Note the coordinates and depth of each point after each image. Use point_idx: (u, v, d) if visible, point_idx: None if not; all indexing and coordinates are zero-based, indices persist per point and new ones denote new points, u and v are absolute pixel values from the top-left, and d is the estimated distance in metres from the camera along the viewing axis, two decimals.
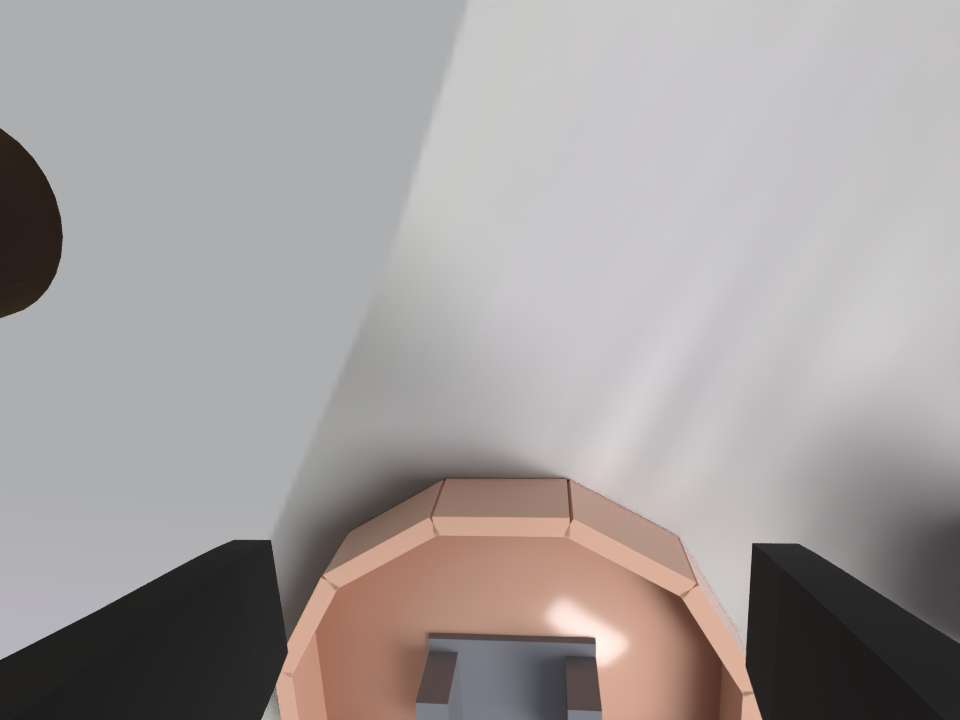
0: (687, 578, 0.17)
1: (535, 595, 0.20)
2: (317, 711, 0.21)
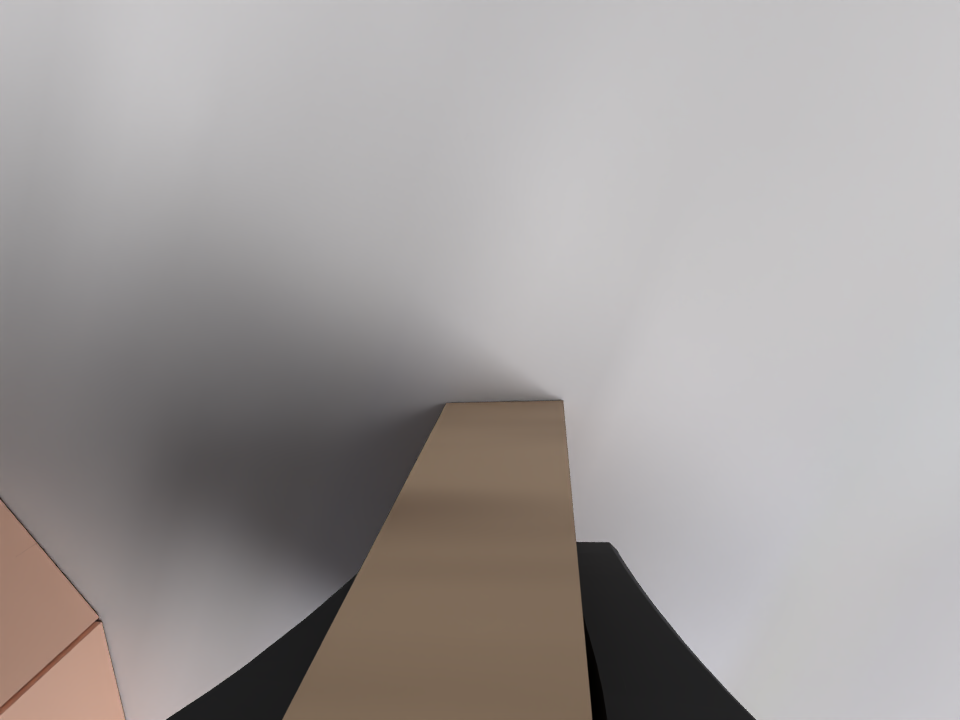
0: None
1: None
2: None
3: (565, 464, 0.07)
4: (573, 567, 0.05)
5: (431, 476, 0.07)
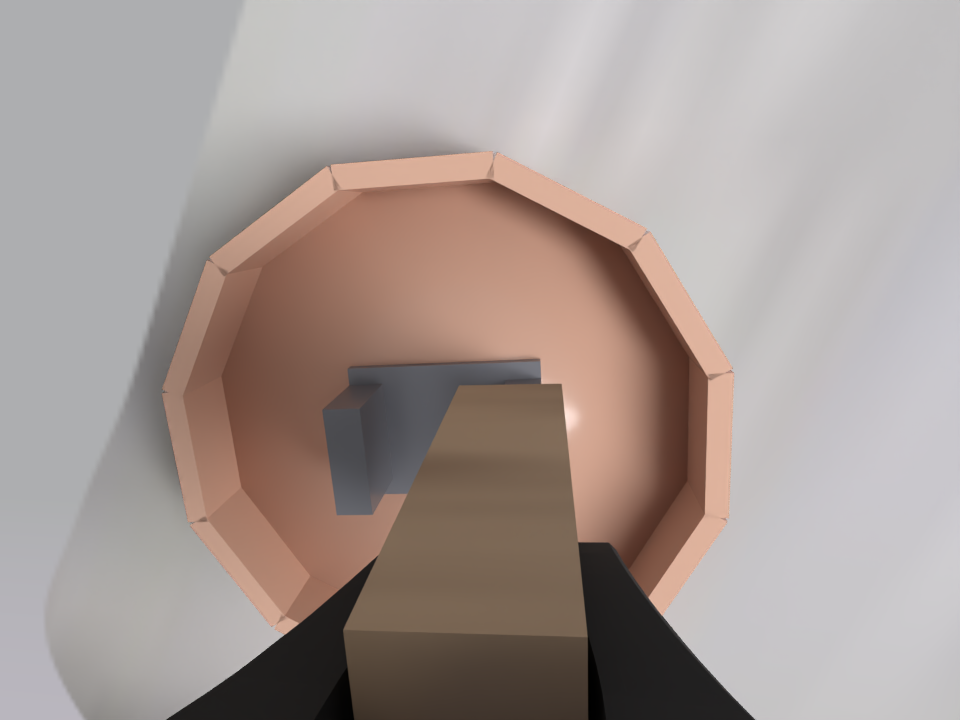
0: (636, 224, 0.14)
1: (469, 307, 0.17)
2: (225, 467, 0.18)
3: (563, 433, 0.09)
4: (570, 506, 0.07)
5: (451, 442, 0.09)
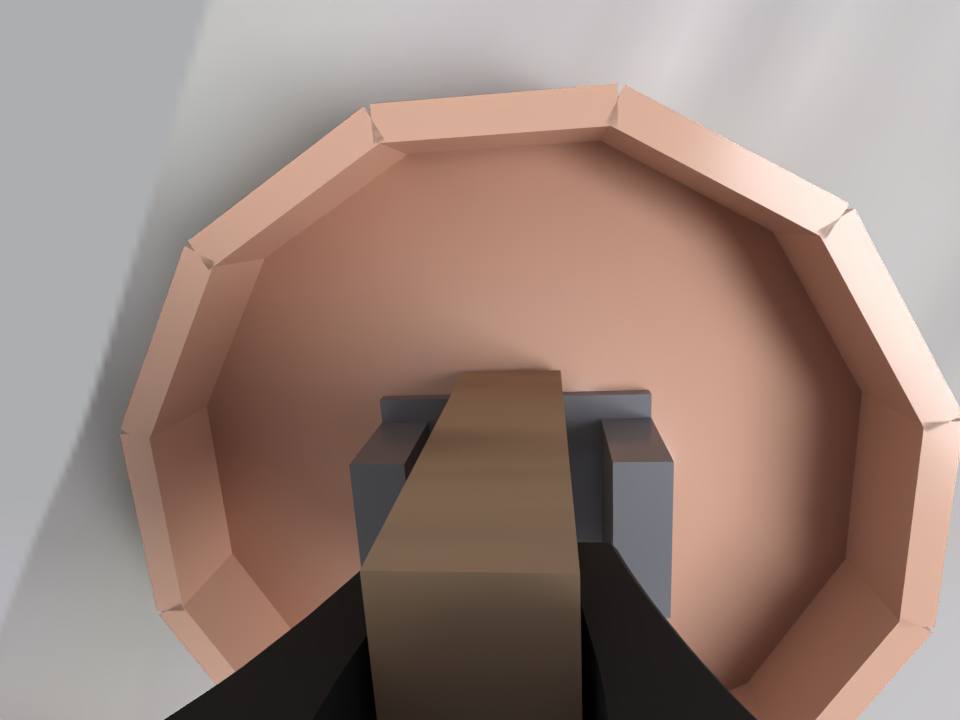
0: (833, 197, 0.09)
1: (551, 318, 0.12)
2: (210, 530, 0.13)
3: (561, 412, 0.09)
4: (566, 471, 0.07)
5: (455, 421, 0.09)
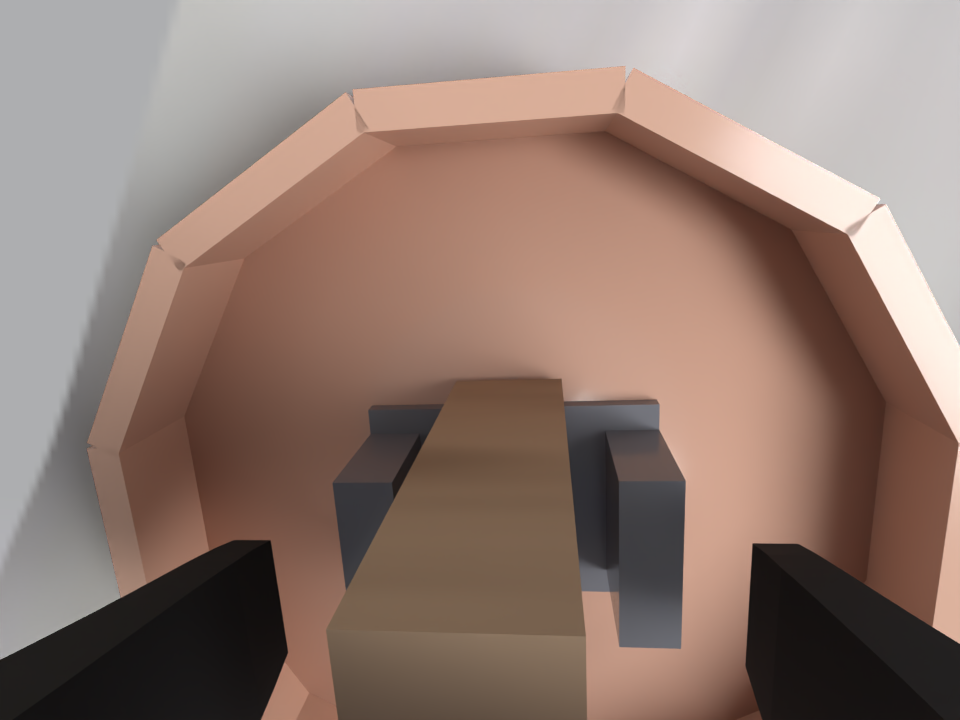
0: (862, 191, 0.08)
1: (552, 323, 0.11)
2: (188, 548, 0.13)
3: (563, 427, 0.09)
4: (568, 500, 0.06)
5: (446, 437, 0.09)
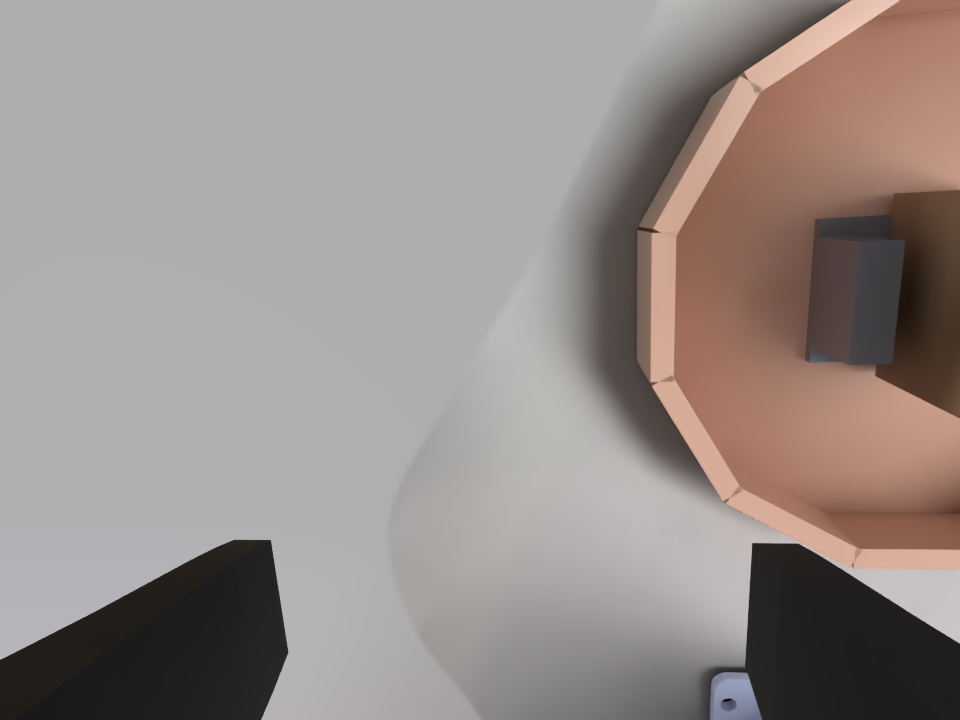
0: None
1: None
2: None
3: None
4: None
5: None
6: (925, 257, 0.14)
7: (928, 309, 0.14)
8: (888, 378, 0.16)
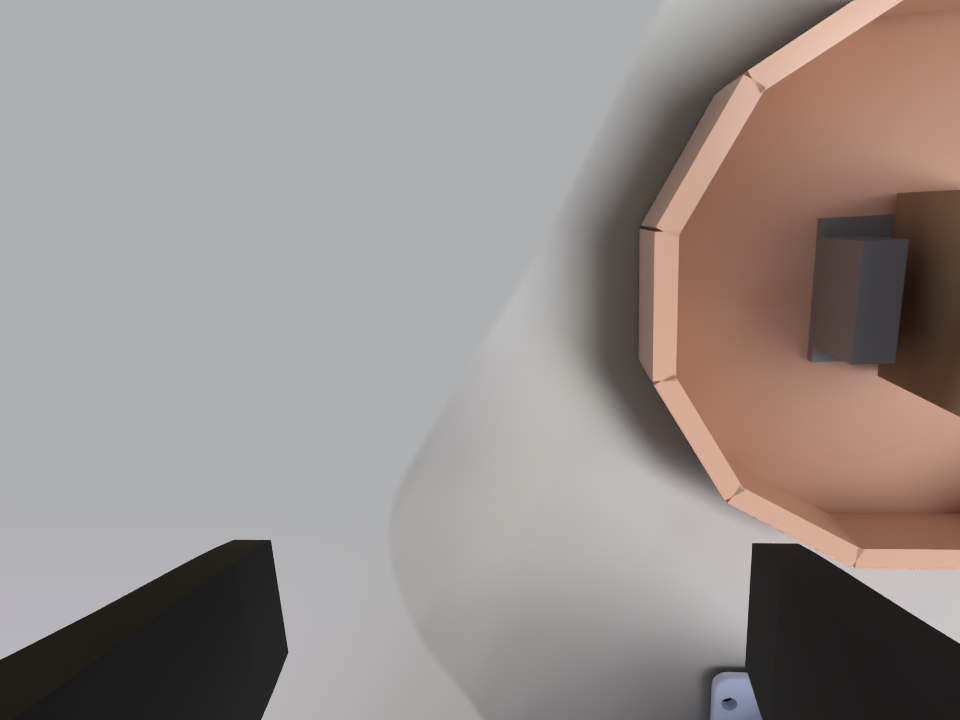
0: None
1: None
2: None
3: None
4: None
5: None
6: (928, 257, 0.14)
7: (931, 309, 0.14)
8: (890, 378, 0.16)
